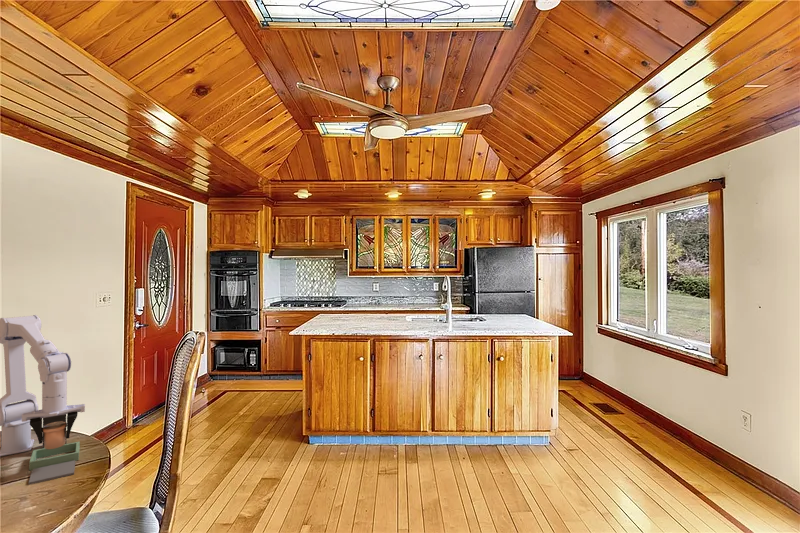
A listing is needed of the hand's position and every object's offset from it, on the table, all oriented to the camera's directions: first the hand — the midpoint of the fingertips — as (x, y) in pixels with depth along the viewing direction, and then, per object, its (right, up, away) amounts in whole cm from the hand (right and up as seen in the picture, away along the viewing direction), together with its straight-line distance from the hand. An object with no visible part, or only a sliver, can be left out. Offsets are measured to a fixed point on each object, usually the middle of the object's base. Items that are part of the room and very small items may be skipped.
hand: (54, 439), depth 125 cm
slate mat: (+1, -9, -2) cm, 9 cm away
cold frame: (-4, -9, +6) cm, 11 cm away
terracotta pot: (0, -2, 0) cm, 2 cm away
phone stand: (-11, -9, +14) cm, 20 cm away
